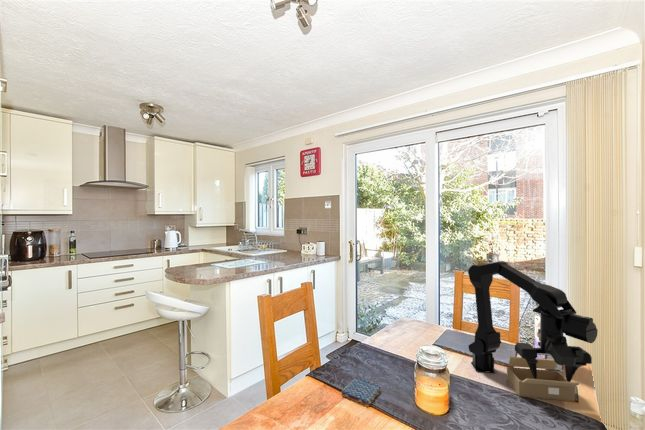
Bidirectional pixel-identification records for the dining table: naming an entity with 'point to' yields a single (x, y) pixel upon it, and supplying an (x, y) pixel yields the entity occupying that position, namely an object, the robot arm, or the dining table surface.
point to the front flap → (550, 382)
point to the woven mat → (361, 391)
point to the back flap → (540, 364)
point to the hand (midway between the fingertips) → (551, 379)
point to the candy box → (537, 339)
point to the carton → (539, 390)
